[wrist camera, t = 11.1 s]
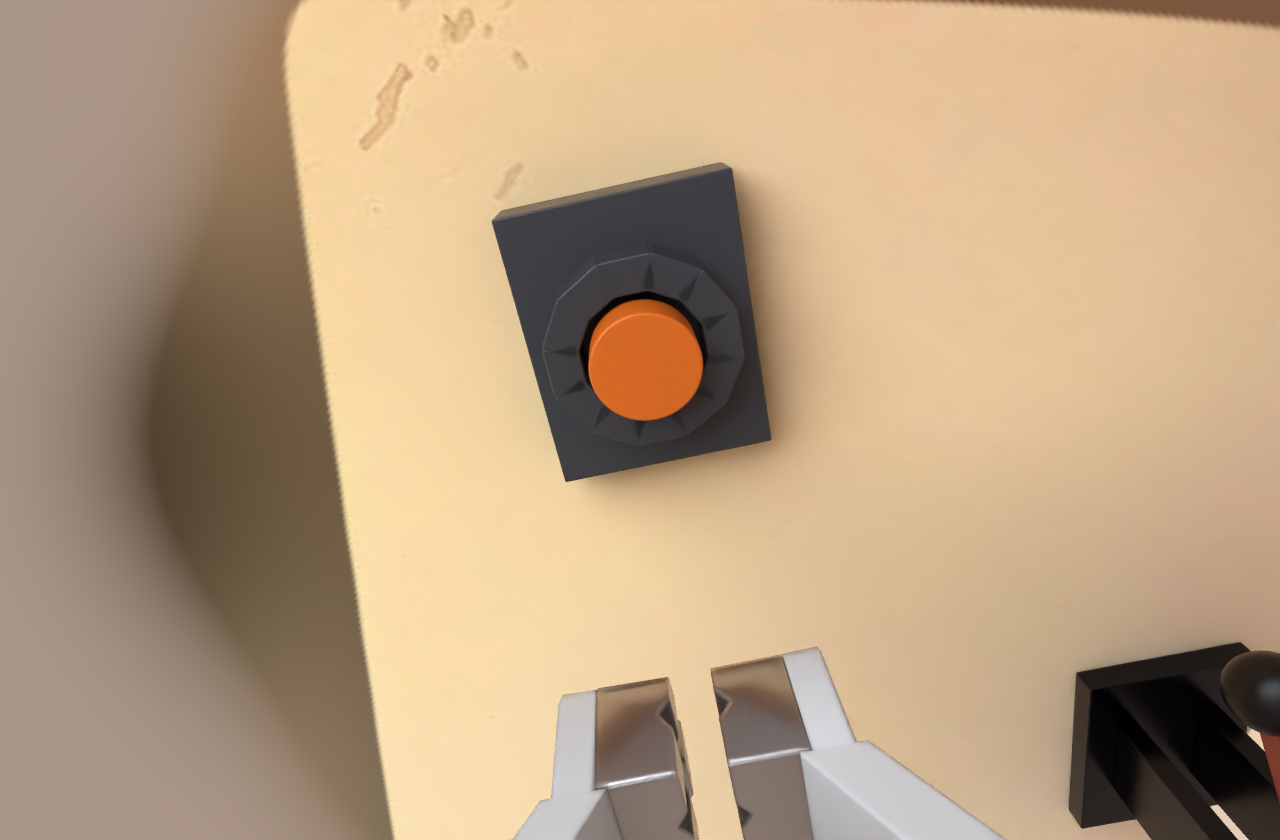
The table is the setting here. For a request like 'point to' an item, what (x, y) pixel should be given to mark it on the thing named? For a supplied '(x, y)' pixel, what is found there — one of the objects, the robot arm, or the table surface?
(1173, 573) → the table surface
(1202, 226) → the table surface
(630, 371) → the button
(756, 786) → the robot arm
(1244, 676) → the switch lever
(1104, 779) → the switch bracket
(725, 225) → the button box
